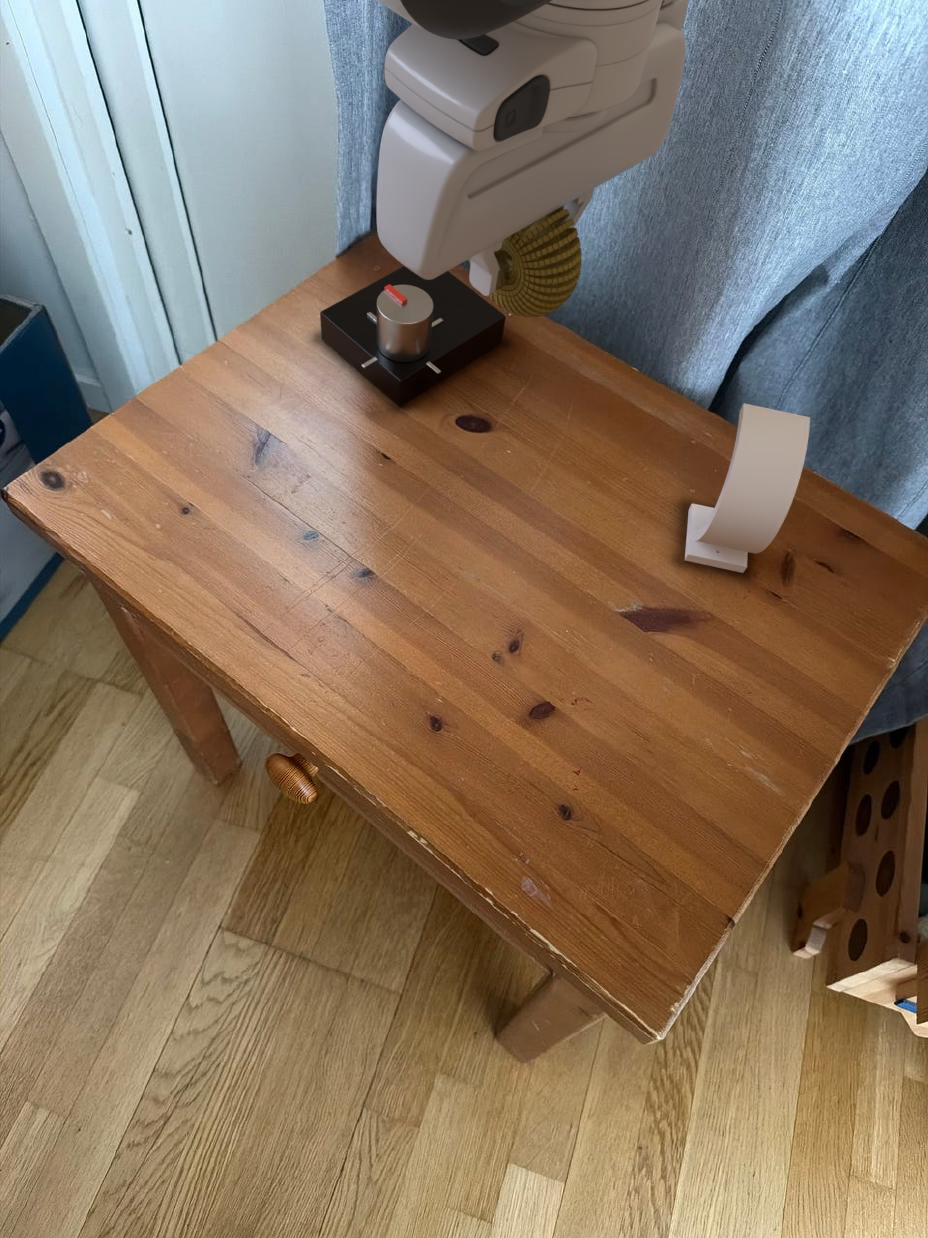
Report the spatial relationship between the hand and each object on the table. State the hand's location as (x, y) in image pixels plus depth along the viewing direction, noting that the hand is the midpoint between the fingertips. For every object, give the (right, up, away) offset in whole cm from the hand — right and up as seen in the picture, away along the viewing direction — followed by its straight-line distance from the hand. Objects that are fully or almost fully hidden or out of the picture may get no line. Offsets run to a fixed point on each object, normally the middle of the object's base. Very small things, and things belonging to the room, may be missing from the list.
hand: (518, 267), depth 55 cm
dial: (-8, +1, +18) cm, 20 cm away
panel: (-8, +3, +23) cm, 24 cm away
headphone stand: (+16, -16, +15) cm, 27 cm away
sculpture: (0, -1, +3) cm, 3 cm away
